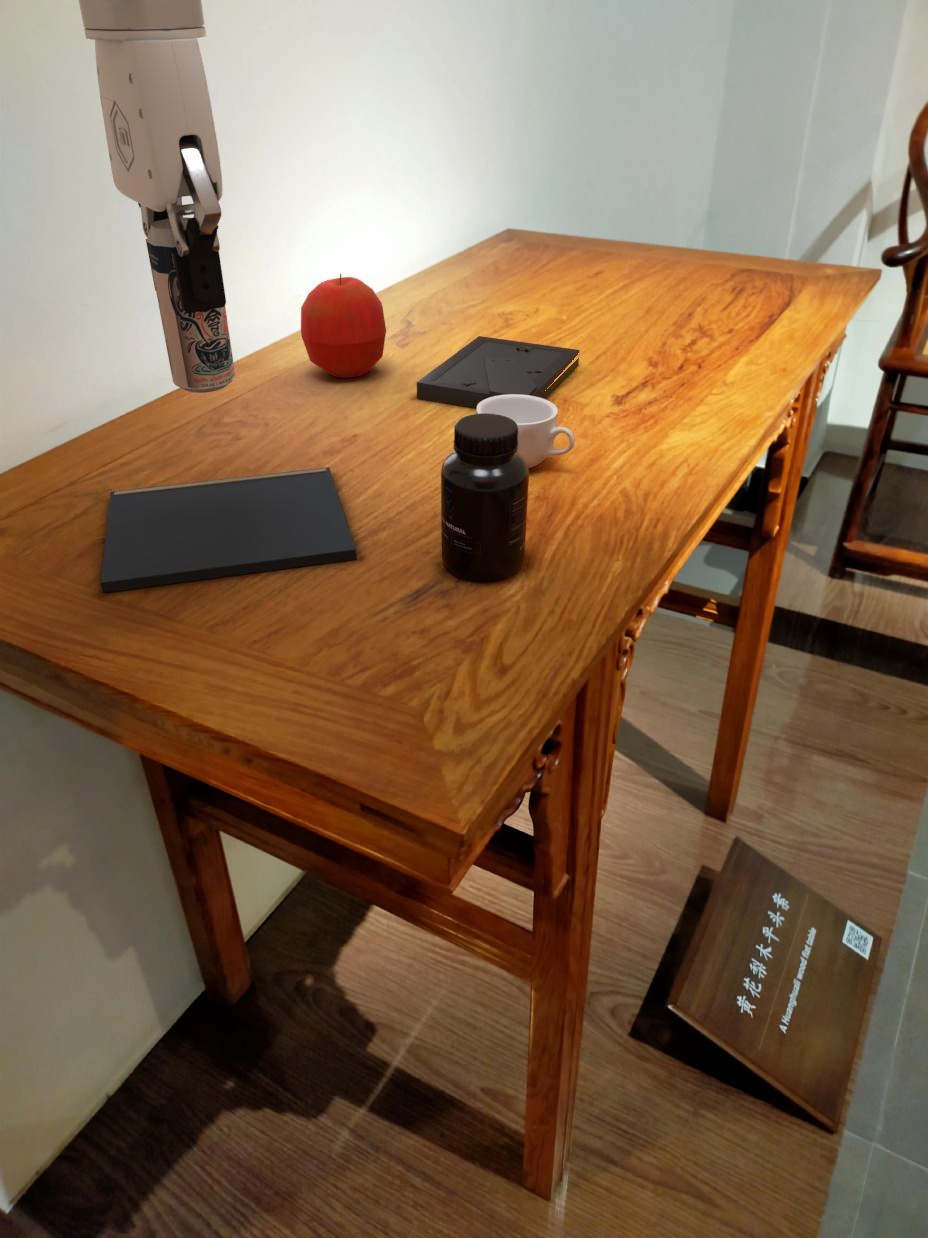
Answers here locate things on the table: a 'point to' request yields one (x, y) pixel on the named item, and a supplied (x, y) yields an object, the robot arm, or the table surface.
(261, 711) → the table surface
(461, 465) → the supplement bottle
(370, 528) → the table surface
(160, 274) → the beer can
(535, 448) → the teacup
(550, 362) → the picture frame
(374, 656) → the table surface
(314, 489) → the dark grey flat slab
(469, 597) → the table surface
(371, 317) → the apple
